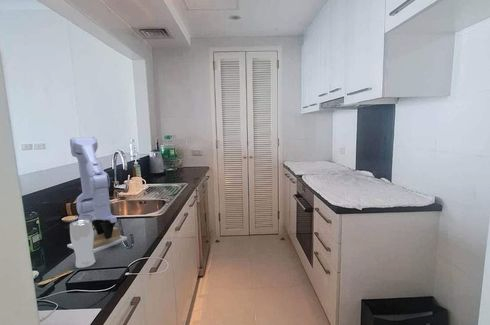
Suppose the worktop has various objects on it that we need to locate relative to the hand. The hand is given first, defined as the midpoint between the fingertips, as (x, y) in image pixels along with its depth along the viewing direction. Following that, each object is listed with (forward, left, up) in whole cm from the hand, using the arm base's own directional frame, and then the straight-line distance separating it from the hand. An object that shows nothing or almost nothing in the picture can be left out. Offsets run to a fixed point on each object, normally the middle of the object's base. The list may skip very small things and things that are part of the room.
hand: (105, 237), depth 109 cm
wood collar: (-5, 0, -2) cm, 6 cm away
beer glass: (+9, -13, -4) cm, 16 cm away
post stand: (-5, 0, -3) cm, 6 cm away
